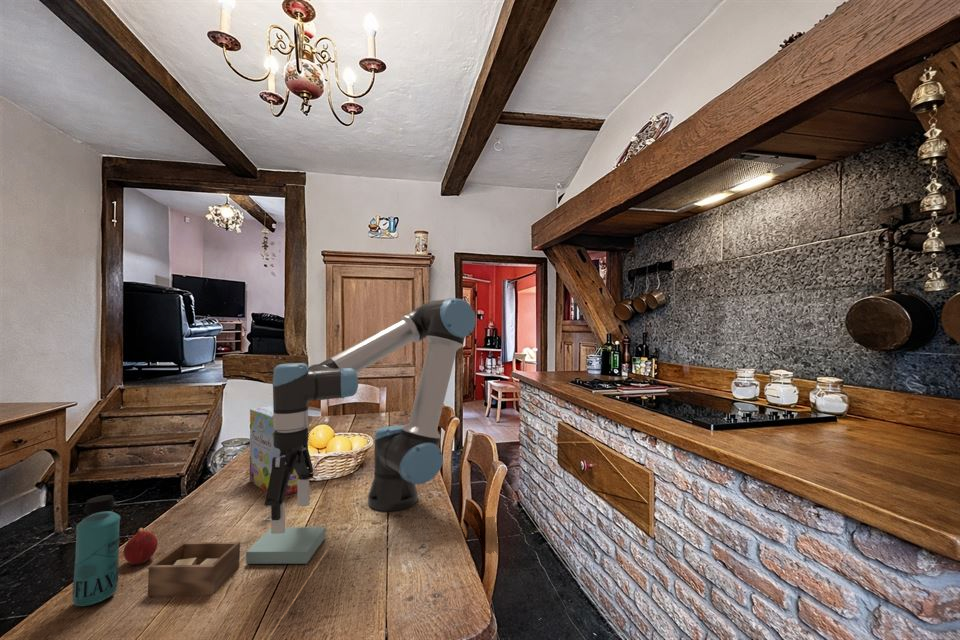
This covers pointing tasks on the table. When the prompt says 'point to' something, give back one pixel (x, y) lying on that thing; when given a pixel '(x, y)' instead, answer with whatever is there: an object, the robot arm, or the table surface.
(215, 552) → the box
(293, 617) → the table surface
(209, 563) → the block
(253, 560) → the lid
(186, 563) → the block
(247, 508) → the table surface
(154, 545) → the onion
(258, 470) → the snack box
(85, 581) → the beverage bottle
